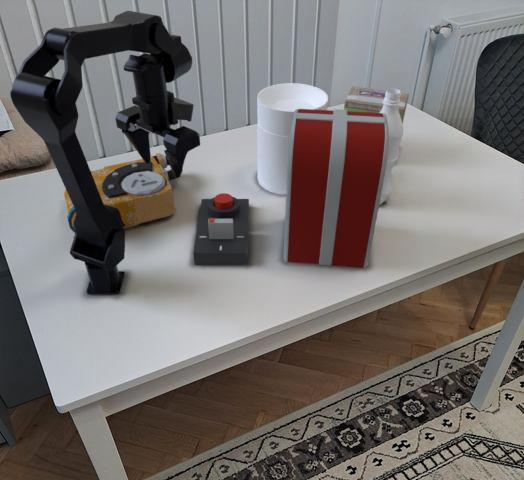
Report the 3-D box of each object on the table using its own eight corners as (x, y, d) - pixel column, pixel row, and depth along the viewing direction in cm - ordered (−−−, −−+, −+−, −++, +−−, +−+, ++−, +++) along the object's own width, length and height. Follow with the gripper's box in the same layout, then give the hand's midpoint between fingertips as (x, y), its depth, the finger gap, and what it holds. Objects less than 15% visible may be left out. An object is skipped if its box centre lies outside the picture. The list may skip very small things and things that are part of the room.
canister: (331, 188, 129) (341, 105, 114) (271, 200, 125) (273, 116, 110) (304, 158, 139) (309, 79, 124) (248, 169, 135) (246, 88, 120)
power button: (232, 209, 116) (232, 202, 114) (214, 209, 116) (214, 202, 114) (233, 200, 118) (232, 193, 117) (215, 200, 118) (215, 193, 117)
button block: (248, 231, 116) (248, 215, 113) (199, 231, 116) (197, 216, 113) (249, 206, 123) (248, 191, 120) (202, 207, 123) (200, 191, 120)
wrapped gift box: (288, 218, 120) (294, 96, 100) (366, 223, 119) (387, 100, 99) (282, 262, 109) (287, 135, 89) (368, 268, 107) (392, 140, 88)
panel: (247, 265, 108) (247, 252, 106) (194, 265, 108) (193, 252, 106) (248, 234, 116) (248, 221, 113) (198, 234, 116) (197, 221, 113)
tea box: (337, 156, 140) (343, 100, 129) (344, 140, 146) (351, 84, 136) (393, 165, 137) (405, 107, 126) (398, 147, 144) (409, 91, 133)
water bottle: (354, 203, 124) (370, 94, 106) (365, 189, 129) (382, 82, 110) (383, 211, 122) (405, 100, 104) (393, 196, 126) (415, 88, 108)
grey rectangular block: (233, 234, 110) (232, 217, 107) (233, 239, 109) (232, 221, 106) (210, 234, 110) (208, 217, 107) (209, 239, 109) (208, 221, 106)
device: (47, 163, 120) (172, 138, 129) (58, 195, 126) (176, 170, 135) (65, 212, 106) (203, 181, 115) (75, 246, 112) (206, 214, 121)
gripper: (218, 91, 97) (222, 170, 108) (151, 67, 105) (162, 142, 116) (173, 110, 91) (182, 191, 102) (106, 83, 99) (122, 161, 111)
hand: (162, 170), depth 108 cm, fingers open, 9 cm apart
